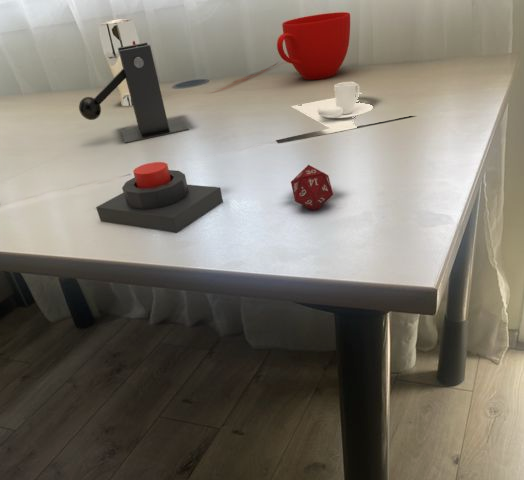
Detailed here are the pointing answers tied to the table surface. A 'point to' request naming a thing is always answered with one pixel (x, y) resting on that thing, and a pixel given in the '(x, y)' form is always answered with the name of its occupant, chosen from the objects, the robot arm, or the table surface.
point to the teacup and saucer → (333, 111)
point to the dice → (311, 188)
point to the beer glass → (112, 39)
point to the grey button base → (160, 204)
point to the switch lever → (99, 98)
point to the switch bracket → (145, 96)
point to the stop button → (152, 175)
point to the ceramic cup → (316, 43)
